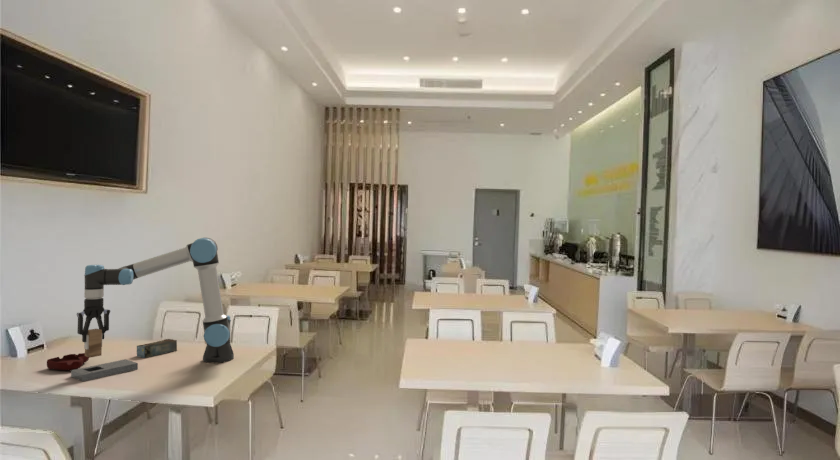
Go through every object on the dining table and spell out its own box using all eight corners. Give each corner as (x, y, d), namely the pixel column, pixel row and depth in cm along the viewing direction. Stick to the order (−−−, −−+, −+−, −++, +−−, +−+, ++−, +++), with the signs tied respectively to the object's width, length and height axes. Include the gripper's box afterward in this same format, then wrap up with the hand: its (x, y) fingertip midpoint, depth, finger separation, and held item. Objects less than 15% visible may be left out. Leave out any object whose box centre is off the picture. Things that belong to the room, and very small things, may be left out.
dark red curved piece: (53, 364, 252) (53, 354, 252) (90, 362, 258) (90, 352, 258) (40, 374, 235) (40, 364, 235) (80, 371, 241) (80, 361, 241)
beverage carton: (135, 356, 269) (135, 344, 269) (169, 349, 285) (169, 337, 285) (144, 358, 265) (144, 346, 265) (177, 351, 281) (177, 339, 281)
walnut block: (101, 355, 235) (101, 329, 235) (89, 357, 230) (90, 331, 230) (96, 353, 237) (96, 328, 237) (84, 355, 233) (85, 330, 233)
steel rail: (137, 369, 245) (137, 363, 245) (82, 381, 225) (82, 374, 225) (125, 365, 251) (125, 359, 251) (71, 376, 232) (71, 370, 232)
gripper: (110, 295, 243) (110, 343, 243) (68, 299, 228) (67, 350, 229) (118, 296, 239) (117, 345, 239) (75, 300, 224) (74, 352, 224)
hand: (93, 347), depth 234 cm, fingers closed on walnut block, 5 cm apart
